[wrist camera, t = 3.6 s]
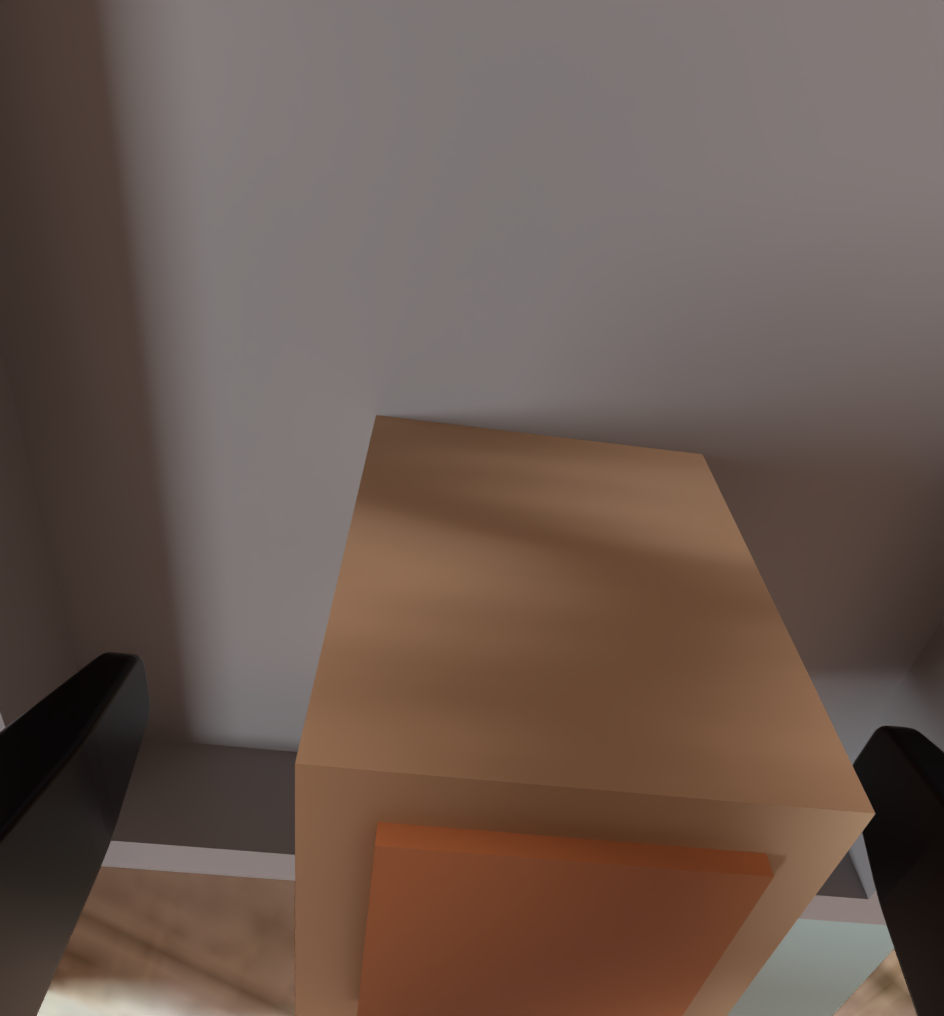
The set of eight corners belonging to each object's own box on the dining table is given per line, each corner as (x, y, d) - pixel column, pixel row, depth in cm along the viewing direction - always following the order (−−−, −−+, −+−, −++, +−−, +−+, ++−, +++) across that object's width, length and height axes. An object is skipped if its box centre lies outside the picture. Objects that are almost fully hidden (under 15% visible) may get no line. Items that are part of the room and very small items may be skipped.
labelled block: (359, 653, 13) (291, 1047, 8) (376, 415, 10) (289, 786, 5) (623, 678, 13) (705, 1071, 8) (702, 454, 10) (887, 837, 6)
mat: (381, 1012, 21) (379, 1032, 21) (407, 829, 16) (406, 852, 16) (788, 1038, 22) (793, 1057, 22) (932, 872, 17) (944, 893, 17)
